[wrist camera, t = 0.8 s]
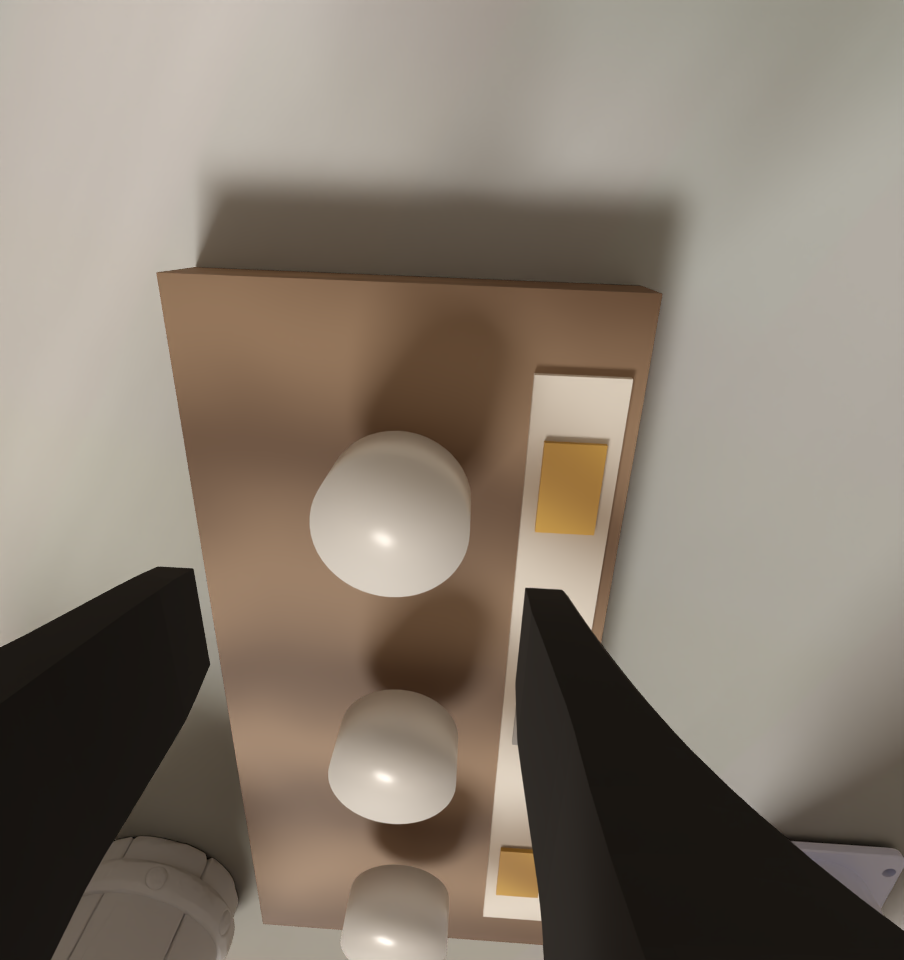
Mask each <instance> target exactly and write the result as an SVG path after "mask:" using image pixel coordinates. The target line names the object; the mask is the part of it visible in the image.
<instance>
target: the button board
mask: <svg viewBox="0 0 904 960" xmlns="http://www.w3.org/2000/svg"><path fill="white" fill-rule="evenodd" d="M157 279H158V285H159V291H160V297H161V304H162V310H163V316H164V322H165V328H166V334H167V340H168V346H169V352H170V358H171V365H172V371H173V377H174V383H175V389H176V395H177V401H178V407H179V413H180V419H181V426H182V432H183V438H184V444H185V450H186V456H187V462H188V468H189V474H190V481H191V487H192V493H193V499H194V505H195V511H196V517H197V523H198V529H199V535H200V542H201V548H202V554H203V560H204V566H205V572H206V578H207V584H208V590H209V596H210V603H211V609H212V615H213V621H214V627H215V633H216V639H217V645H218V651H219V658H220V664H221V670H222V676H223V682H224V688H225V694H226V700H227V706H228V712H229V719H230V725H231V731H232V737H233V743H234V749H235V755H236V761H237V767H238V773H239V780H240V786H241V792H242V798H243V804H244V810H245V816H246V822H247V828H248V834H249V841H250V847H251V853H252V859H253V865H254V871H255V877H256V883H257V889H258V896H259V902H260V908H261V914H262V920H263V924H271V925H284V926H297V927H311V928H324V929H337V930H343V925H344V920H345V915H346V910H347V905H348V900H349V895H350V890H351V886H352V883H353V881H354V880H355V879H356V877H358V876H359V875H360V874H361V873H363V872H364V871H366V870H368V869H371V868H373V867H377V866H382V865H392V864H395V865H407V866H412V867H416V868H419V869H422V870H424V871H426V872H428V873H430V874H432V875H434V876H435V877H436V878H438V879H439V880H440V881H441V882H442V883H443V884H444V886H445V887H446V889H447V891H448V894H449V918H448V938H457V939H470V940H484V941H497V942H510V943H524V944H537V945H543V935H542V921H541V912H540V903H539V893H538V885H537V878H536V871H535V864H534V857H533V850H532V843H531V836H530V829H529V822H528V815H527V808H526V801H525V794H524V787H523V780H522V773H521V766H520V759H519V751H518V744H517V723H516V692H515V681H516V671H517V662H518V652H519V642H520V633H521V623H522V614H523V604H524V594H525V588H543V589H560V590H563V591H564V592H565V593H566V594H567V595H568V597H569V598H570V600H571V601H572V603H573V604H574V606H575V607H576V609H577V610H578V612H579V613H580V615H581V616H582V618H583V619H584V620H585V622H586V623H587V625H588V626H589V628H590V629H591V630H592V632H593V633H594V634H595V636H596V637H597V639H598V640H599V641H600V643H601V640H602V634H603V628H604V623H605V617H606V611H607V606H608V600H609V594H610V589H611V583H612V577H613V572H614V566H615V560H616V555H617V549H618V543H619V538H620V532H621V526H622V521H623V515H624V509H625V504H626V498H627V492H628V487H629V481H630V475H631V469H632V464H633V458H634V452H635V447H636V441H637V435H638V430H639V424H640V418H641V413H642V407H643V401H644V396H645V390H646V384H647V379H648V373H649V367H650V362H651V356H652V350H653V345H654V339H655V333H656V328H657V322H658V316H659V311H660V305H661V299H662V293H659V292H657V291H654V290H651V289H648V288H646V287H643V286H636V285H612V284H588V283H564V282H540V281H516V280H491V279H467V278H443V277H419V276H395V275H371V274H347V273H322V272H298V271H274V270H250V269H226V268H202V267H193V268H185V269H178V270H171V271H164V272H157ZM384 431H406V432H411V433H416V434H419V435H422V436H425V437H427V438H429V439H431V440H433V441H435V442H437V443H438V444H440V445H441V446H443V447H444V448H445V449H446V450H447V451H449V452H450V453H451V454H452V455H453V456H454V458H455V459H456V460H457V461H458V463H459V464H460V466H461V467H462V469H463V471H464V473H465V475H466V477H467V480H468V483H469V486H470V493H471V515H470V536H469V544H468V547H467V551H466V554H465V556H464V558H463V560H462V562H461V564H460V565H459V567H458V568H457V569H456V571H455V572H454V573H453V574H452V575H451V576H450V577H449V578H448V579H447V580H445V581H444V582H443V583H441V584H440V585H438V586H437V587H435V588H433V589H431V590H429V591H426V592H423V593H420V594H417V595H412V596H406V597H384V596H378V595H373V594H369V593H366V592H363V591H361V590H358V589H356V588H354V587H352V586H350V585H349V584H347V583H345V582H344V581H342V580H341V579H340V578H338V577H337V576H336V575H335V574H334V573H333V572H332V571H331V570H330V569H329V568H328V567H327V566H326V565H325V563H324V562H323V561H322V559H321V558H320V556H319V554H318V553H317V551H316V548H315V546H314V544H313V540H312V537H311V532H310V511H311V506H312V503H313V499H314V497H315V495H316V493H317V491H318V489H319V488H320V486H321V484H322V483H323V481H324V480H325V478H326V476H327V475H328V473H329V471H330V470H331V468H332V467H333V465H334V463H335V462H336V460H337V459H338V458H339V456H340V455H341V454H342V453H343V452H344V451H345V450H346V449H347V448H348V447H349V446H350V445H352V444H353V443H354V442H356V441H358V440H359V439H361V438H363V437H366V436H368V435H371V434H374V433H378V432H384ZM382 690H407V691H412V692H416V693H419V694H422V695H425V696H427V697H429V698H431V699H433V700H434V701H436V702H438V703H439V704H440V705H442V706H443V707H444V708H445V709H446V710H447V711H448V712H449V714H450V715H451V716H452V718H453V720H454V721H455V724H456V726H457V731H458V752H457V774H456V788H455V793H454V796H453V798H452V800H451V801H450V803H449V804H448V805H447V806H446V807H445V808H444V809H443V810H442V811H441V812H439V813H438V814H436V815H435V816H433V817H431V818H428V819H426V820H423V821H419V822H415V823H409V824H389V823H382V822H377V821H373V820H370V819H367V818H365V817H362V816H360V815H358V814H356V813H354V812H353V811H351V810H350V809H348V808H347V807H346V806H345V805H343V804H342V803H341V802H340V801H339V800H338V798H337V797H336V796H335V794H334V793H333V791H332V789H331V786H330V783H329V779H328V770H329V765H330V761H331V758H332V754H333V751H334V747H335V744H336V740H337V737H338V733H339V730H340V726H341V723H342V719H343V717H344V714H345V713H346V711H347V710H348V708H349V707H350V706H351V705H352V704H353V703H354V702H356V701H357V700H358V699H360V698H362V697H363V696H366V695H368V694H370V693H373V692H377V691H382Z"/></svg>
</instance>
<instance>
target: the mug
mask: <svg viewBox="0 0 904 960" xmlns="http://www.w3.org/2000/svg"><path fill="white" fill-rule="evenodd" d="M237 905H238V896H237V892H236V890H235V883H234V881H233V879H232V877H231V875H230V873H229V872H228V871H227V870H226V869H225V868H224V867H223V866H222V865H221V864H220V863H219V862H218V861H217V860H215V859H213V858H210V859H208V860H207V858H206V854H205V853H203V852H202V851H200V850H198V849H196V848H194V847H191V846H189V845H187V844H182V843H179V842H175V841H172V840H167V839H163V838H157V837H150V836H138V837H136V838H135V839H133V838H132V837H128V838H124V839H119V840H116V841H113V843H112V844H111V846H110V847H109V849H108V851H107V852H106V854H105V856H104V857H103V859H102V861H101V863H100V865H99V866H98V868H97V870H96V872H95V874H94V875H93V877H92V879H91V881H90V883H89V884H88V886H87V888H86V890H85V892H84V894H83V896H82V898H81V900H80V902H79V904H78V906H77V908H76V910H75V912H74V914H73V916H72V918H71V920H70V922H69V924H68V926H67V928H66V930H65V932H64V934H63V936H62V938H61V940H60V942H59V944H58V946H57V948H56V950H55V953H54V955H53V957H52V959H51V960H225V958H226V956H227V953H228V951H229V948H230V946H231V943H232V939H233V936H234V928H235V926H234V919H233V917H234V914H235V911H236V908H237Z"/></svg>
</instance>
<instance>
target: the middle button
mask: <svg viewBox="0 0 904 960" xmlns="http://www.w3.org/2000/svg"><path fill="white" fill-rule="evenodd" d="M457 752H458V731H457V726H456V724H455V721H454V720H453V718H452V716H451V715H450V714H449V712H448V711H447V710H446V709H445V708H444V707H443V706H442V705H440V704H439V703H438V702H436V701H434V700H433V699H431V698H429V697H427V696H425V695H422V694H419V693H416V692H412V691H407V690H382V691H377V692H373V693H370V694H368V695H366V696H363V697H362V698H360V699H358V700H357V701H356V702H354V703H353V704H352V705H351V706H350V707H349V708H348V710H347V711H346V713H345V714H344V717H343V719H342V723H341V726H340V730H339V733H338V737H337V740H336V744H335V747H334V751H333V754H332V758H331V761H330V765H329V770H328V779H329V783H330V786H331V789H332V791H333V793H334V794H335V796H336V797H337V798H338V800H339V801H340V802H341V803H342V804H343V805H345V806H346V807H347V808H348V809H350V810H351V811H353V812H354V813H356V814H358V815H360V816H362V817H365V818H367V819H370V820H373V821H377V822H382V823H389V824H409V823H415V822H419V821H423V820H426V819H428V818H431V817H433V816H435V815H436V814H438V813H439V812H441V811H442V810H443V809H444V808H445V807H446V806H447V805H448V804H449V803H450V801H451V800H452V798H453V796H454V793H455V788H456V774H457Z"/></svg>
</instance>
